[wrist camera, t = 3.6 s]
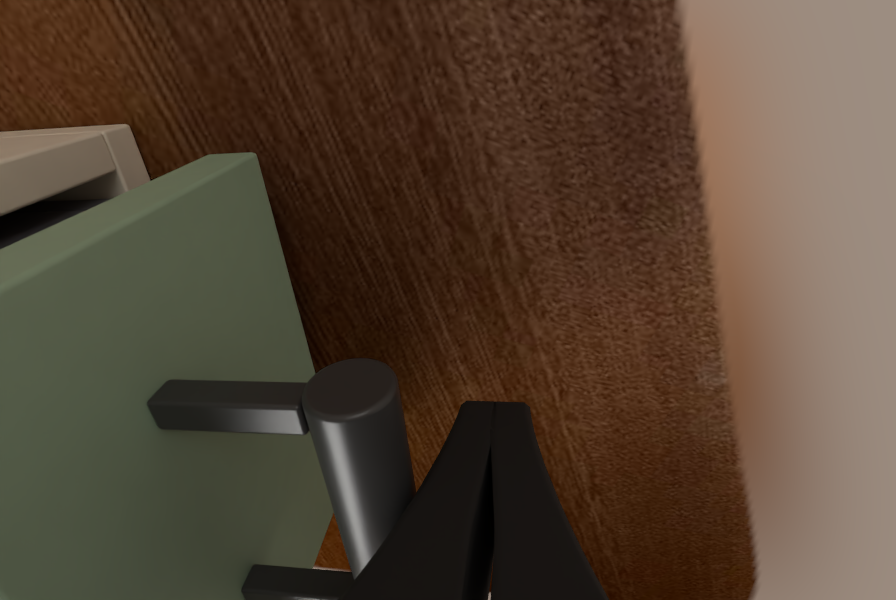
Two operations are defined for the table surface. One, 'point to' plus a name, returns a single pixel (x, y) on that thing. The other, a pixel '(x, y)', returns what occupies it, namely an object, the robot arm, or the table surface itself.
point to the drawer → (180, 404)
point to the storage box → (68, 165)
